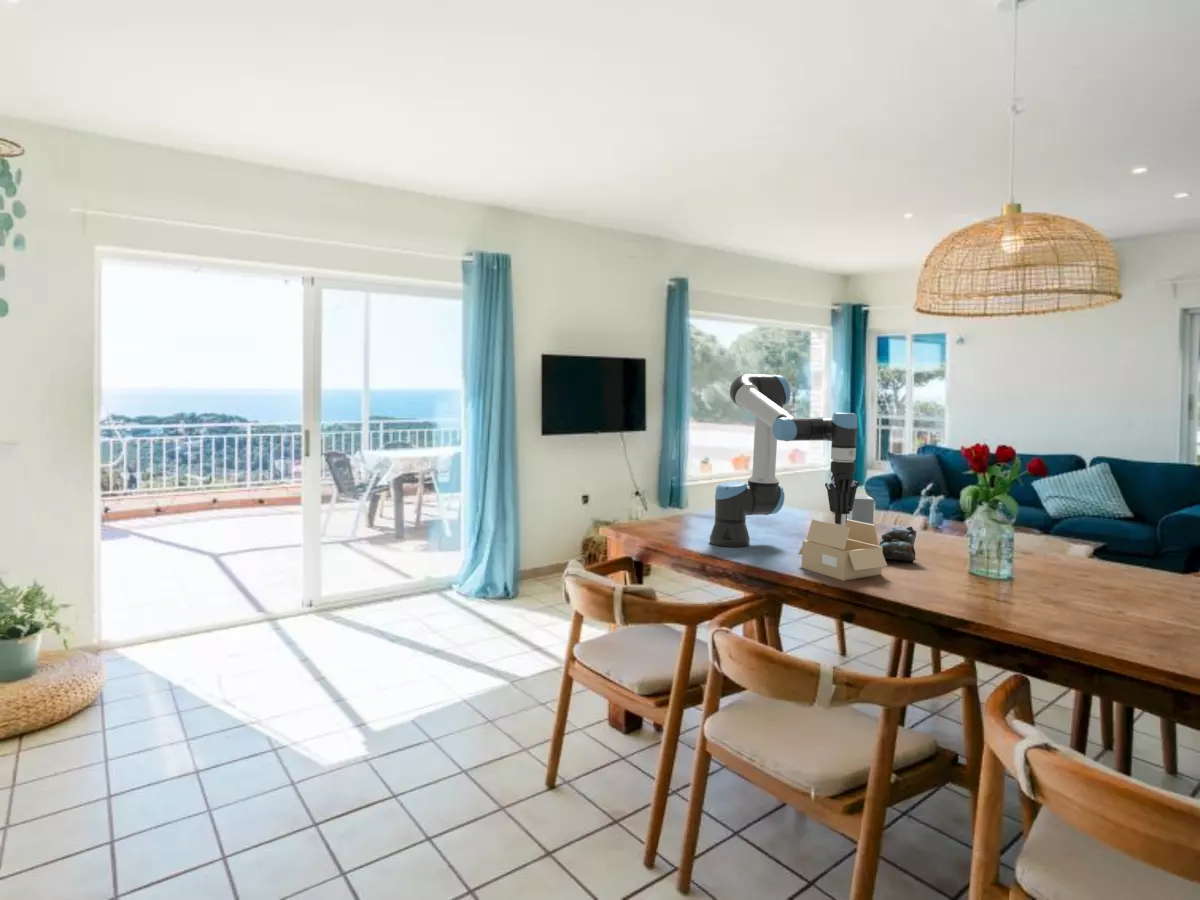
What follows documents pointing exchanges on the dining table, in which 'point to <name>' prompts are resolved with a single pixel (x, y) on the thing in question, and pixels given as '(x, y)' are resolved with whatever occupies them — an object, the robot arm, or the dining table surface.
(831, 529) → the flap
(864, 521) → the hard drive box
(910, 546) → the dark grey backpack
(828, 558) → the carton
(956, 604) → the dining table surface
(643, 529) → the dining table surface
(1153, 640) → the dining table surface
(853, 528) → the flap
